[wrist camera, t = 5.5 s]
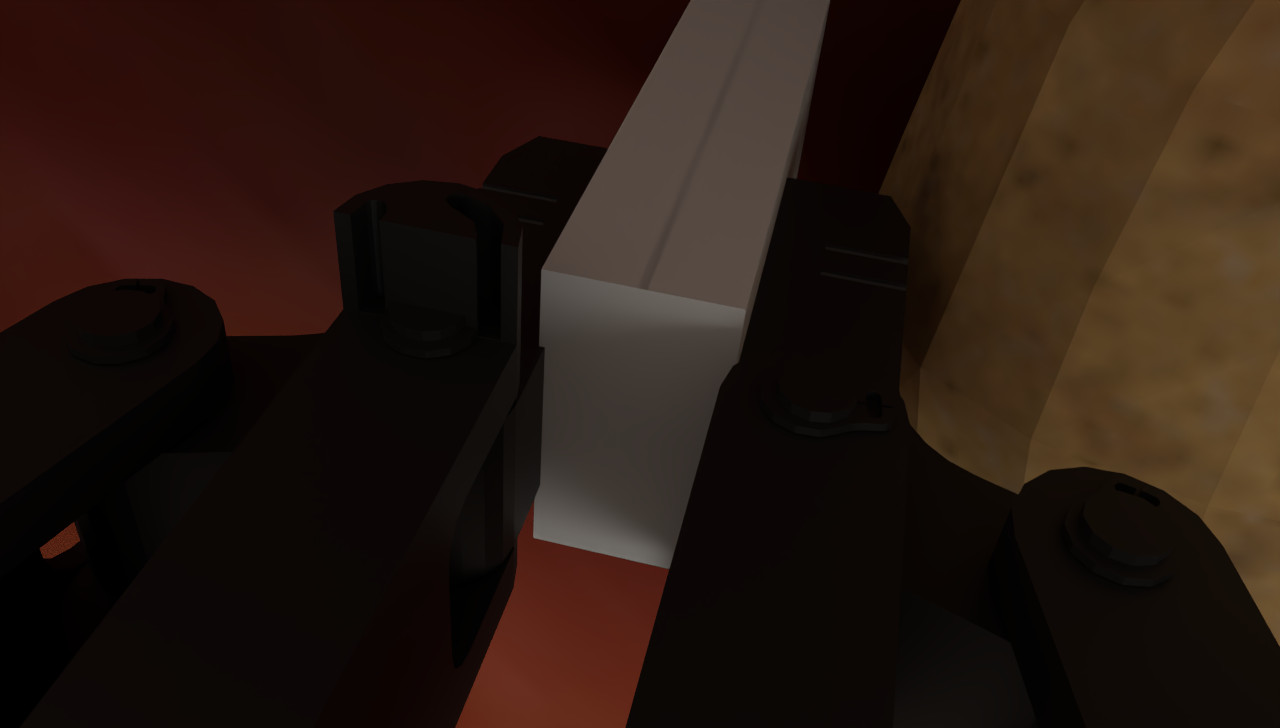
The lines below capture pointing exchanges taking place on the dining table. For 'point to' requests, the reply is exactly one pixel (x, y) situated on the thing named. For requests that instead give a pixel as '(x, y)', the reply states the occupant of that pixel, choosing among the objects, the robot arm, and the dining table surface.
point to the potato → (1103, 254)
